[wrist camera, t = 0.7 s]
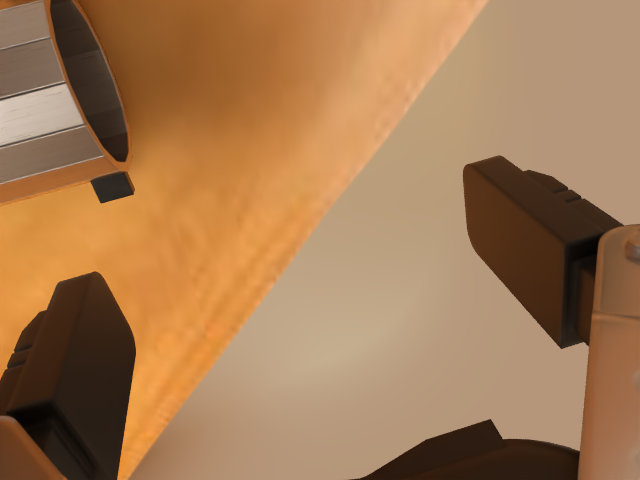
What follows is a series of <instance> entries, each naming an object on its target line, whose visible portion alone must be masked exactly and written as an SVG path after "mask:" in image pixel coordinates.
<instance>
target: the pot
mask: <svg viewBox="0 0 640 480" xmlns="http://www.w3.org/2000/svg"><path fill="white" fill-rule="evenodd" d="M132 158H133V156H132V142H131V134H130V129H129V125H128V120H127V116H126V111H125V108H124V104H123V101H122V98H121V95H120V92H119V89H118V86H117V83H116V79H115V78H114V74H113V72H112V69H111V67H110V64H109V62H108V60H107V57H106V55H105V52H104V50H103V47H102V46H101V43H100V41H99V39H98V37H97V35H96V33H95V31H94V29H93V27H92V25H91V23H90V21H89V19H88V17H87V16H86V14H85V12H84V11H83V9H82V8H81V6H80V5H79V3H78V2H77V0H0V206H2V205H6V204H10V203H14V202H17V201H21V200H25V199H28V198H32V197H36V196H39V195H43V194H47V193H50V192H54V191H58V190H61V189H65V188H69V187H72V186H76V185H80V184H84V183H87V182H91V184H92V186H93V188H94V190H95V192H96V194H97V197H98V199H99V201H100V203H105V202H108V201H112V200H116V199H119V198H123V197H126V196H130V195H133V194H134V191H135V188H134V186H133V184H132V181H131V179H130V177H129V174H128V171H129V169H130V166H131V162H132Z"/></svg>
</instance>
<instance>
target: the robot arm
mask: <svg viewBox="0 0 640 480" xmlns="http://www.w3.org/2000/svg"><path fill="white" fill-rule="evenodd" d="M463 183H464V197H465V208H466V222H467V230H468V235H469V238H470V241H471V244H472V246H473V248H474V249H475V251H476V253H477V254H478V255H479V256H480V257H481V259H482V260H483V261H484V262H485V263H486V264H487V265H488V266H489V268H490V269H491V270H492V271H493V272H494V273H495V274H496V276H497V277H498V278H499V279H500V280H501V281H502V282H503V283H504V285H505V286H506V287H507V288H508V289H509V290H510V292H511V293H512V294H513V295H514V296H515V297H516V298H517V299H518V301H519V302H520V303H521V304H522V305H523V306H524V307H525V309H526V310H527V311H528V312H529V313H530V314H531V315H532V316H533V318H534V319H535V320H536V321H537V322H538V323H539V324H540V325H541V327H542V328H543V329H544V330H545V331H546V332H547V334H548V335H549V336H550V337H551V338H552V339H553V340H554V341H555V342H556V344H557V345H558V346H559V347H560V348H561V349H563V348H566V347H569V346H572V345H575V344H579V343H582V342H585V343H586V344H587V345H588V346H589V355H588V365H587V376H586V389H585V399H584V411H583V422H582V434H581V446H580V451H578V450H575V449H572V448H569V447H566V446H562V445H558V444H554V443H550V442H544V441H536V440H528V439H527V440H526V439H502V437H501V435H500V434H499V432H498V430H497V429H496V427H495V425H494V424H493V422H492V421H491V419H489V420H486V421H483V422H480V423H477V424H474V425H471V426H468V427H464V428H461V429H458V430H455V431H452V432H449V433H446V434H443V435H439V436H437V437H434V438H430V439H427V440H425V441H423V442H421V443H420V444H418V445H417V446H415V447H413V448H412V449H410V450H408V451H407V452H405V453H404V454H402V455H400V456H399V457H397V458H395V459H394V460H392V461H390V462H389V463H387V464H386V465H384V466H382V467H381V468H379V469H377V470H376V471H374V472H373V473H371V474H369V475H367V476H365V477H363V478H360V479H351V480H640V224H634V225H626V226H624V225H623V224H621V223H620V222H618V221H617V220H615V219H614V218H612V217H611V216H610V215H608V214H607V213H605V212H604V211H602V210H601V209H599V208H598V207H596V206H595V205H593V204H592V203H590V202H589V201H587V200H586V199H582V198H581V196H580V195H578V194H577V193H575V192H574V191H573V190H568V187H567V186H565V185H564V184H562V183H561V182H559V181H558V180H556V179H555V178H553V177H552V176H549V175H545V174H541V173H538V172H535V171H531V170H527V171H522V170H520V169H519V168H518V167H516V166H515V165H514V164H512V163H511V162H509V161H508V160H507V159H505V158H504V157H502V156H495V157H491V158H488V159H485V160H482V161H478V162H474V163H471V164H467V165H466V166H465V167H464V170H463ZM14 351H15V353H13V354H12V355H11V358H10V360H9V362H8V364H7V367H8V369H6V370H5V371H4V373H3V376H2V378H1V380H0V480H117V476H118V470H119V463H120V456H121V450H122V443H123V436H124V430H125V423H126V416H127V410H128V403H129V396H130V390H131V383H132V376H133V370H134V363H135V357H136V347H135V341H134V337H133V333H132V331H131V328H130V326H129V324H128V322H127V320H126V319H125V317H124V315H123V313H122V311H121V309H120V307H119V305H118V304H117V302H116V300H115V298H114V296H113V294H112V292H111V291H110V289H109V287H108V285H107V283H106V281H105V280H104V278H103V277H102V275H101V274H100V273H98V272H92V273H88V274H85V275H81V276H78V277H74V278H71V279H68V280H64V281H61V282H59V283H58V284H57V286H56V288H55V291H54V293H53V296H52V298H51V301H50V303H49V306H48V308H47V310H45V311H42V312H39V313H38V314H37V316H36V317H35V318H34V319H33V320H32V321H31V322H30V323H29V324H28V326H27V327H26V328H25V329H24V330H23V331H22V333H21V335H20V338H19V340H18V342H17V344H16V347H15V349H14Z"/></svg>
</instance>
